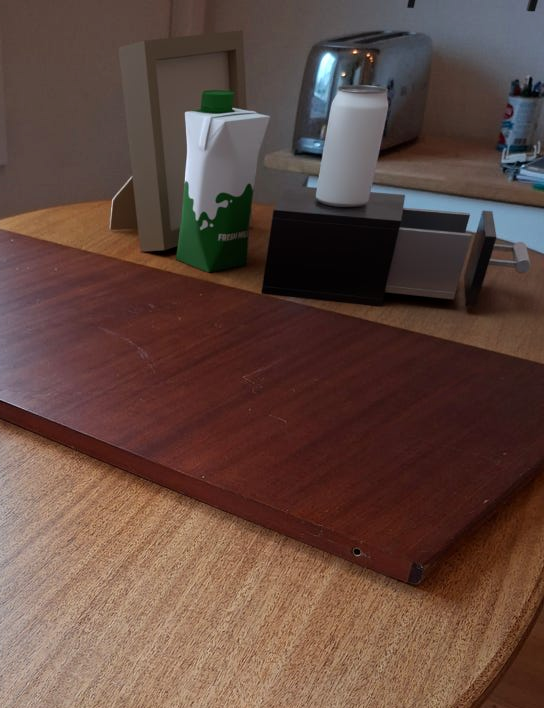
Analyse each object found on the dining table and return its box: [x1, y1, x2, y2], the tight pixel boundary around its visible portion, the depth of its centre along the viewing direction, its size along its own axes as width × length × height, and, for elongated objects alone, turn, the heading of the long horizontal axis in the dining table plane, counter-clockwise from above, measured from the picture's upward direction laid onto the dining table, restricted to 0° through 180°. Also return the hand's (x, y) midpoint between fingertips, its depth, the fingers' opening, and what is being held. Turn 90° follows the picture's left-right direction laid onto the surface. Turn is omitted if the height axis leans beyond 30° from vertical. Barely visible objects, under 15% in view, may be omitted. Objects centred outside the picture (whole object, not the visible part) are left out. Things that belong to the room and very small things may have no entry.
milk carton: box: [175, 90, 271, 273], centre depth 115 cm, size 9×9×20 cm
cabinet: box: [260, 185, 406, 307], centre depth 112 cm, size 15×14×10 cm
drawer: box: [385, 207, 532, 308], centre depth 108 cm, size 18×13×8 cm
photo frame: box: [108, 29, 253, 253], centre depth 126 cm, size 15×22×25 cm
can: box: [316, 84, 389, 207], centre depth 105 cm, size 6×6×12 cm
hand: (469, 9), depth 105 cm, fingers open, 13 cm apart
